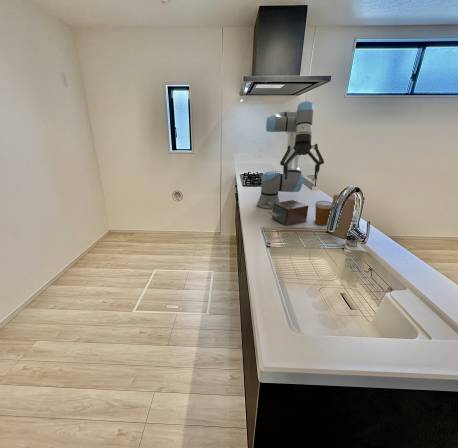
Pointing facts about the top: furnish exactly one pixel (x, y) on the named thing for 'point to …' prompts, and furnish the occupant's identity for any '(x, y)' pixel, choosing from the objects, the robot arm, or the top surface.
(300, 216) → the cabinet
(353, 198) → the wooden block
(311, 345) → the top surface
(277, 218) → the drawer
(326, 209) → the amber jar
